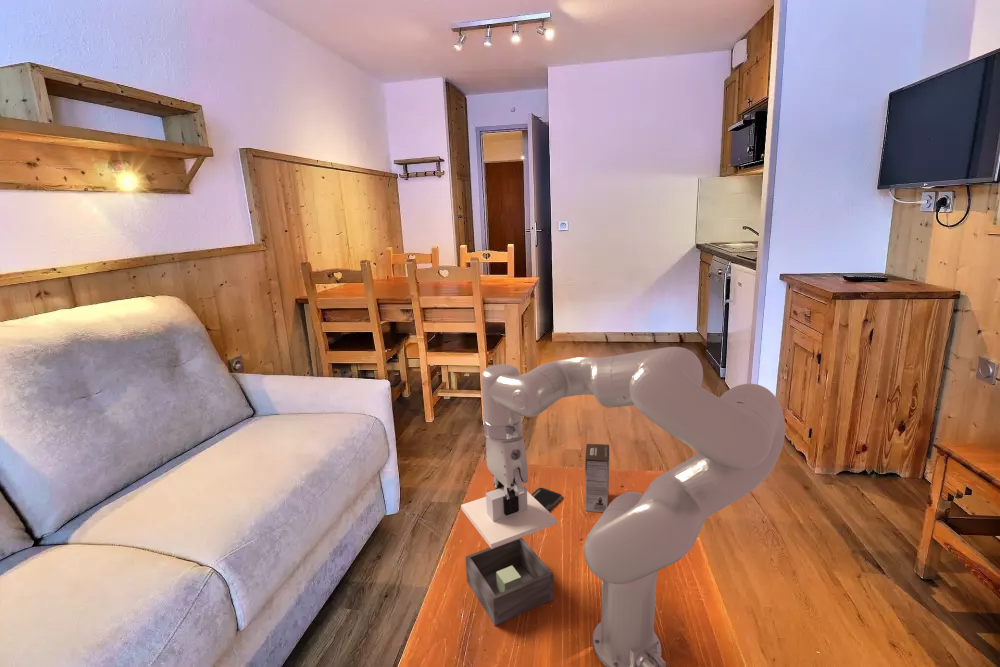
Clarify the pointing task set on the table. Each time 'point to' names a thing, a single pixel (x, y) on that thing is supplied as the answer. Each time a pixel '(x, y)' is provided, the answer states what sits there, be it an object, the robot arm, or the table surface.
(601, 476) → the coffee box
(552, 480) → the table surface
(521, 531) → the lid
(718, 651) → the table surface
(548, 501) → the phone
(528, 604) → the box
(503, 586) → the cube
